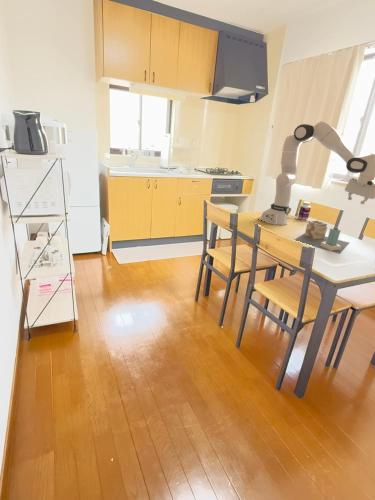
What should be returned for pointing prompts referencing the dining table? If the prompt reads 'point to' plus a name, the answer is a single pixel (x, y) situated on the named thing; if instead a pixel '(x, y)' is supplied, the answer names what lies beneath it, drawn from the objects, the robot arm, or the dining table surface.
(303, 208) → the pill bottle
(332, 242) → the plug block
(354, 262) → the dining table surface
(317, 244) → the mat
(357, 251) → the dining table surface
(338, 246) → the lower socket
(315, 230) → the brown mottled container
